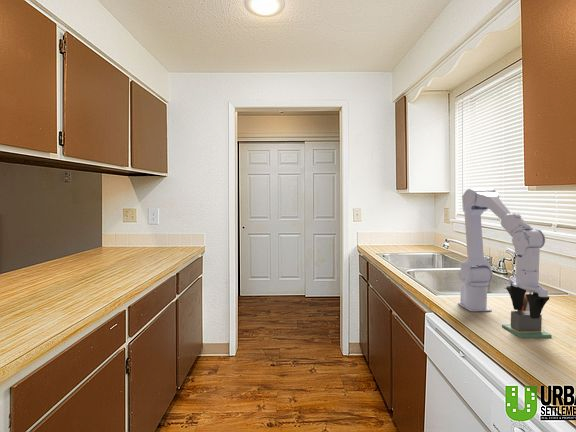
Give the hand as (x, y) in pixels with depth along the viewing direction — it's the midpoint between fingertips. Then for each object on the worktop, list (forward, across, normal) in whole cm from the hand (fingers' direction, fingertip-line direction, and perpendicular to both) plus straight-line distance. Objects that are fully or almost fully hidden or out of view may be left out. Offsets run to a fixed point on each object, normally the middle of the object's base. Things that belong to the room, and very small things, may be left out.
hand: (526, 313), depth 107 cm
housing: (+5, 0, 0) cm, 5 cm away
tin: (+6, -14, +9) cm, 18 cm away
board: (+6, 0, 0) cm, 6 cm away
